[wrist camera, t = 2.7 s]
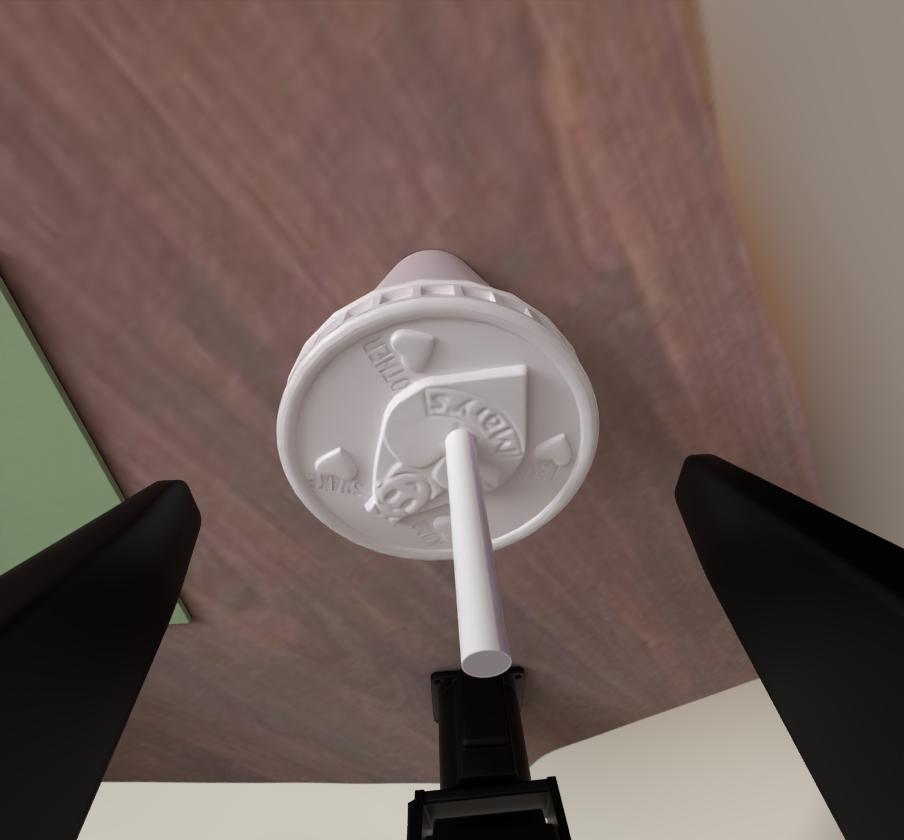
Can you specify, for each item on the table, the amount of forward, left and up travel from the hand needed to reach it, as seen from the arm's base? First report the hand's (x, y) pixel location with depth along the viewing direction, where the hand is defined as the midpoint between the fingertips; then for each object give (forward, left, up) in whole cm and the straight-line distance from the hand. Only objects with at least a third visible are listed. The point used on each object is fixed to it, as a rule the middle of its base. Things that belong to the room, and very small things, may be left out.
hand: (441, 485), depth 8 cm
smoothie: (0, 0, -11) cm, 11 cm away
